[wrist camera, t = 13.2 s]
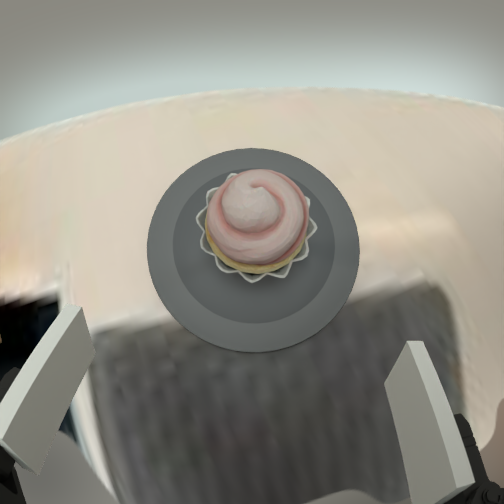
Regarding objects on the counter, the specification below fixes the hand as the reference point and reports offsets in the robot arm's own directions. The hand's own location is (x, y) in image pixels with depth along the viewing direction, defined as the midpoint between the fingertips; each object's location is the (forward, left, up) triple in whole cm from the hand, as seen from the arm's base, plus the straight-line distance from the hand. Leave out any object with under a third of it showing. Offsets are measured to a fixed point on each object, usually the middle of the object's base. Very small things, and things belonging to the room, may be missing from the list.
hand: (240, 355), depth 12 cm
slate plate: (+2, -9, -17) cm, 19 cm away
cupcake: (+2, -9, -16) cm, 18 cm away
